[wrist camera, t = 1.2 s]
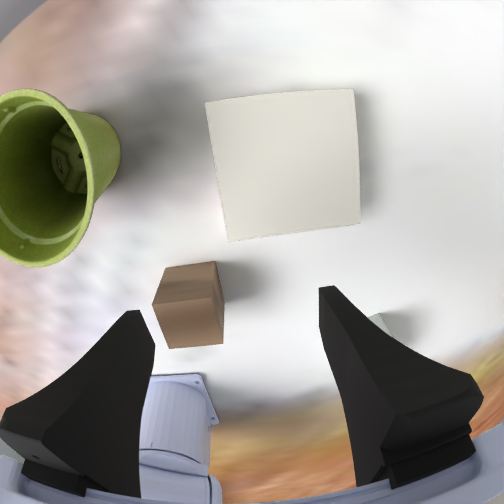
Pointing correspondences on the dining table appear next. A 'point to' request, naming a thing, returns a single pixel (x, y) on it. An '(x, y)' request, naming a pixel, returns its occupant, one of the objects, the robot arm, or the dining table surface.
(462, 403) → the robot arm
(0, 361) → the dining table surface
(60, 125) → the plant pot
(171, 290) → the walnut block
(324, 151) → the cream block
